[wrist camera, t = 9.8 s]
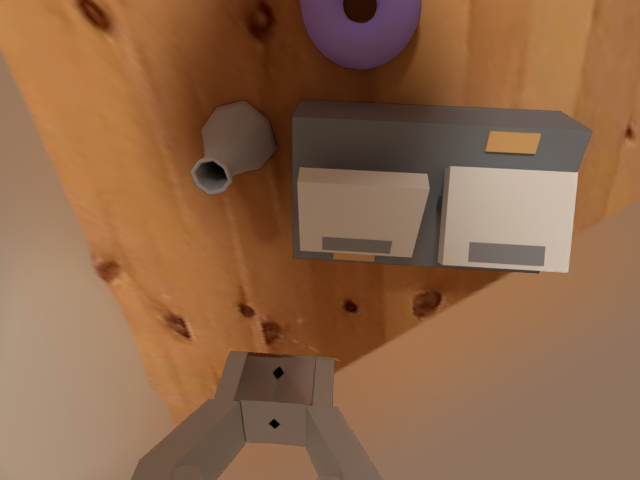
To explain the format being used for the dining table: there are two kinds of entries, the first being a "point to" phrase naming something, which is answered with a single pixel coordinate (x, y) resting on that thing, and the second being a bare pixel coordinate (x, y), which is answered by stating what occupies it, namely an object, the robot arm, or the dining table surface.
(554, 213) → the switch
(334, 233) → the switch
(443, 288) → the dining table surface
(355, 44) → the donut
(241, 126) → the flask
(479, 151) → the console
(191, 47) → the dining table surface
